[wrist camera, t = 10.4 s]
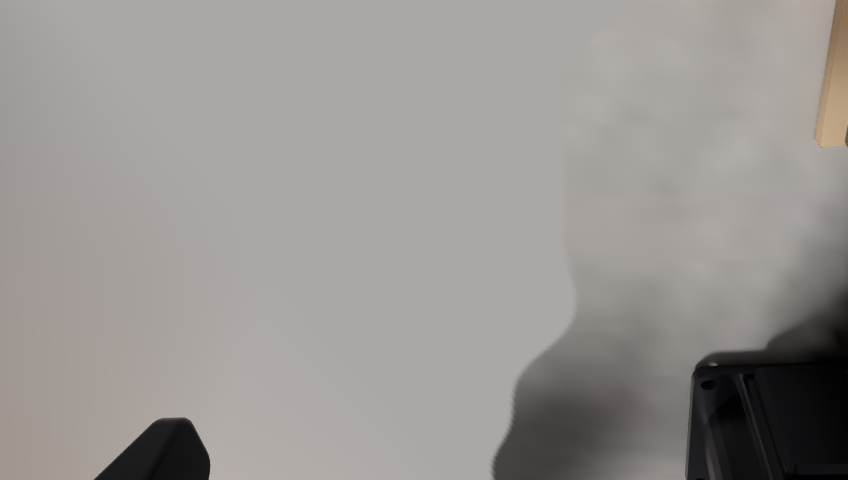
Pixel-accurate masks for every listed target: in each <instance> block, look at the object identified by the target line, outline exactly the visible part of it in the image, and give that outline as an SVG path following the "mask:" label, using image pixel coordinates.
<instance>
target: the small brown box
mask: <svg viewBox="0 0 848 480" xmlns="http://www.w3.org/2000/svg"><path fill="white" fill-rule="evenodd" d="M814 138H815V140H816V142H817V143H818V145H819V147H828V146H840V145H847V147H848V0H836V5H835V11H834V17H833V24H832V30H831V36H830V42H829V49H828V55H827V61H826V67H825V74H824V80H823V86H822V92H821V99H820V105H819V111H818V117H817V124H816V130H815V136H814Z"/></svg>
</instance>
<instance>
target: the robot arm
mask: <svg viewBox="0 0 848 480" xmlns="http://www.w3.org/2000/svg"><path fill="white" fill-rule="evenodd" d="M706 380H710V381H706ZM209 474H210V459H209V455H208V453H207V451H206V448H205V447H204V445H203V443H202V441H201V439H200V437H199V435H198V433H197V431H196V429H195V428H194V425H193V424H192V422H191V421H190V420H188V419H187V418H162V419H159V420H157V421H155V422H154V423H152V424H151V425H150V426H149V427H148V428H147V429H146V430H145V431H144V432H143V433H142V434H141V435H140V436H139V437H138V438H137V439H136V440H135V441H134V442H132V444H131V445H130V446H128V447H127V448H126V449H125V450H124V451H123V452H122V453H121V454H120V455H119V456H118V457H117V458H116V459H115V460H114V461H113V462H112V463H111V464H110V465H109V466H108V467H106V468H105V469H104V470H103V471H102V472H101V473H100V474H99V475H98V476H97V477H96V478H95V479H94V480H209ZM685 476H686V480H848V361H839V362H811V363H784V364H757V365H730V366H706V367H701V368H699V369H697V370H696V371H695V372H694V373H693V374H692V378H691V393H690V408H689V423H688V438H687V453H686V468H685Z"/></svg>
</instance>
